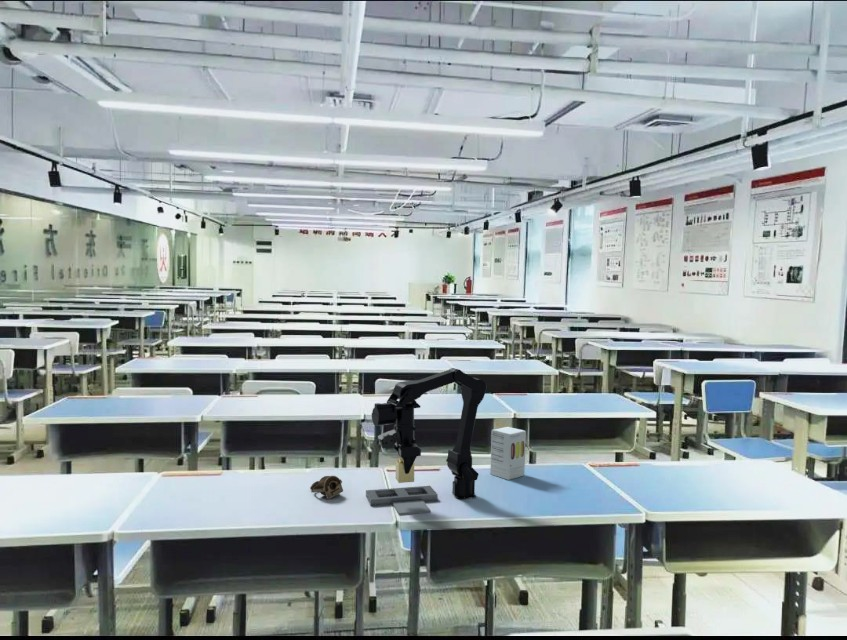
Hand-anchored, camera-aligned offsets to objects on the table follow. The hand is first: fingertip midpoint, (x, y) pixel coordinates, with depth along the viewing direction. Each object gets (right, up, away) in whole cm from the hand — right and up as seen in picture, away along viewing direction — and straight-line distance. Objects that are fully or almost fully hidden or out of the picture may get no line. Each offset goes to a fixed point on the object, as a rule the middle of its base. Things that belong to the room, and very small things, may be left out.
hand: (405, 471), depth 199 cm
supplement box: (+37, -10, +34) cm, 51 cm away
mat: (+2, -11, -1) cm, 11 cm away
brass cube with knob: (0, -3, 0) cm, 3 cm away
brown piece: (-26, -10, +11) cm, 30 cm away
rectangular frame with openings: (-1, -11, +7) cm, 13 cm away
